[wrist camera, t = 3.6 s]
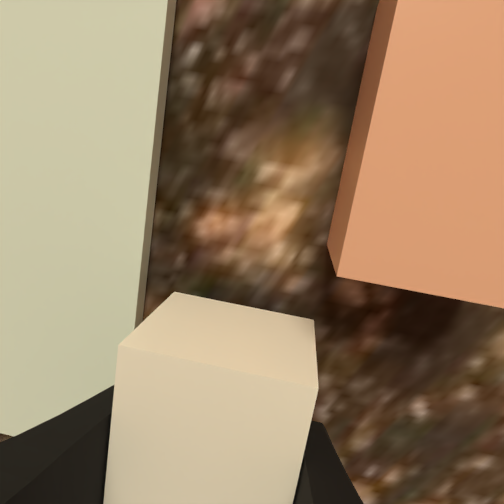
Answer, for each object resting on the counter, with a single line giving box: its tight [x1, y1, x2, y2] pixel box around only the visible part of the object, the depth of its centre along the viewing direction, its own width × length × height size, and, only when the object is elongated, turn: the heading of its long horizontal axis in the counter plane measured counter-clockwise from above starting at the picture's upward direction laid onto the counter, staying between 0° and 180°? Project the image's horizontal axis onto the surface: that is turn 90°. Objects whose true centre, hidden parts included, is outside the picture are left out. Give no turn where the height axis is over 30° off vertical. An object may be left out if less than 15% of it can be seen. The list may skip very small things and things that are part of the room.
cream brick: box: [103, 292, 318, 504], centre depth 10 cm, size 6×4×4 cm, turn 171°
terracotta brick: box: [327, 0, 504, 308], centre depth 9 cm, size 6×4×4 cm, turn 171°
